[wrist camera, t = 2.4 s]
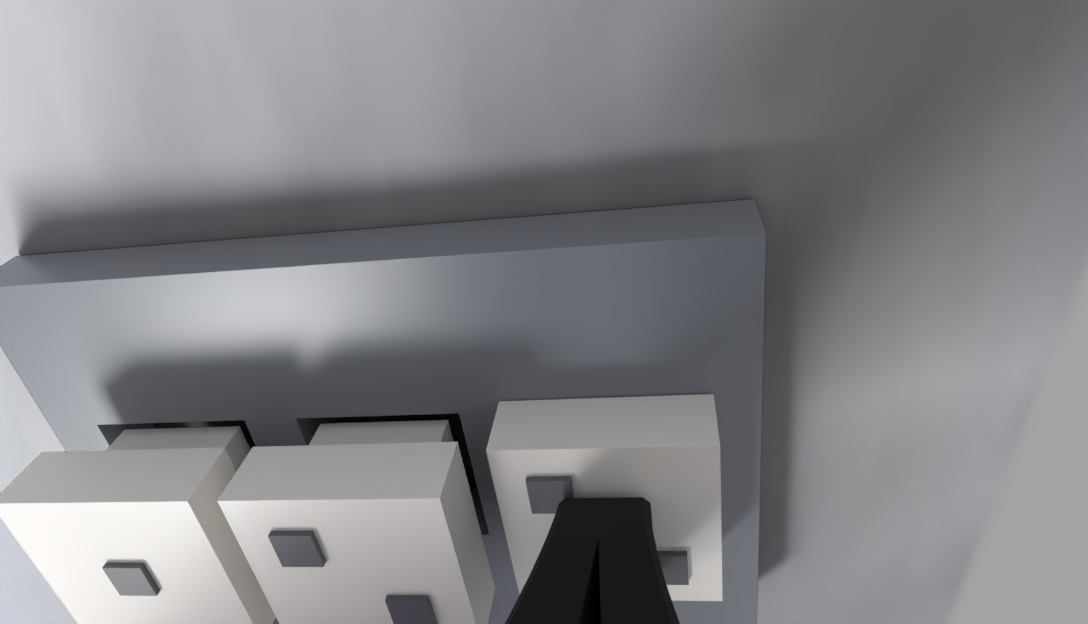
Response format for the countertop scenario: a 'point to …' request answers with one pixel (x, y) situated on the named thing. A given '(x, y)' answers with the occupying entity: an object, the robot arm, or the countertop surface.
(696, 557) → the tile three
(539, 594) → the robot arm
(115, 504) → the tile one
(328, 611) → the tile two
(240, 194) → the countertop surface
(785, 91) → the countertop surface
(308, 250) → the keypad
